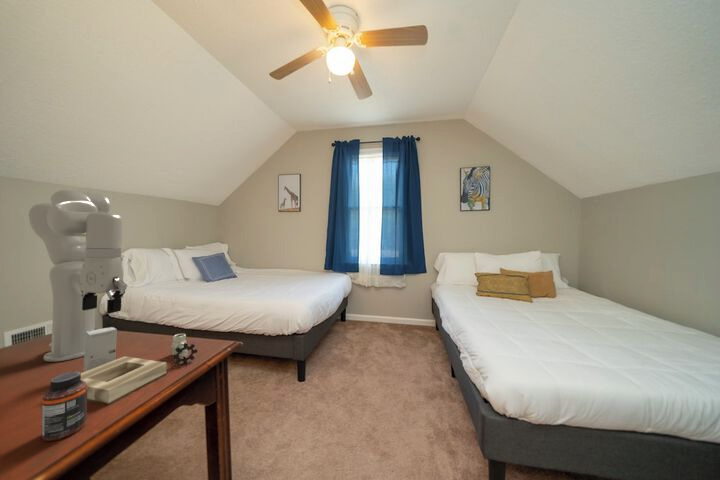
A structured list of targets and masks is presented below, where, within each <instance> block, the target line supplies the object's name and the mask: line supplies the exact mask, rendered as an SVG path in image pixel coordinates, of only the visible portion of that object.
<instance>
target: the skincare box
mask: <svg viewBox="0 0 720 480" xmlns="http://www.w3.org/2000/svg"><path fill="white" fill-rule="evenodd" d="M117 332H118V329H117V328H115V327H114V326H110V327H104V328H98V329H94V330H93V331H87V332H86V337H85V351H84V356H83V372H86V371H88V370H91V369H93V368H96V367H99V366H101V365H104V364H106V363H109V362H111V361H114V360H116V354H117V353H116V352H117V350H116V349H117V336H118V335H117ZM83 372H82V373H83Z"/></svg>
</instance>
